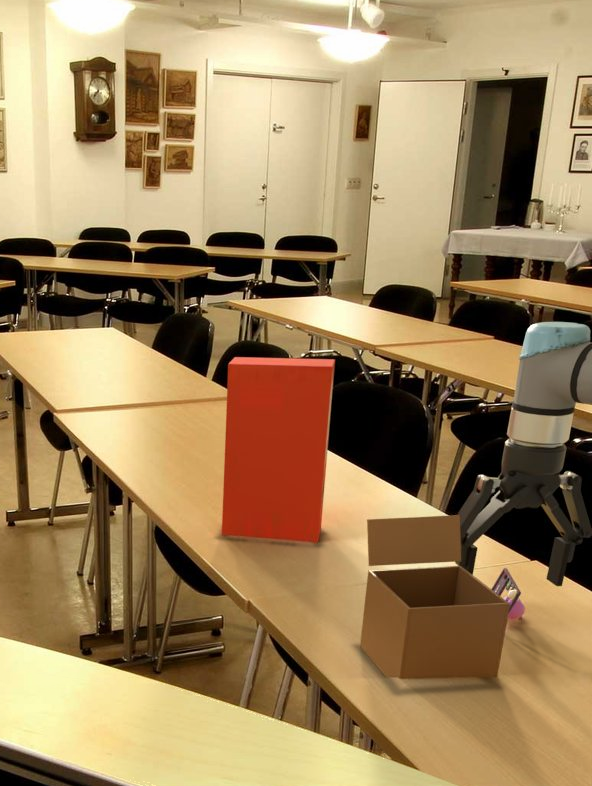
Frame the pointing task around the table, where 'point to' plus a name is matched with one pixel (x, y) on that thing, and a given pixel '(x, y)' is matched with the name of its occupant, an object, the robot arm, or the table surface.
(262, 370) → the red rectangular block
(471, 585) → the carton
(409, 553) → the flap
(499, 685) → the table surface
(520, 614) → the purple product box
